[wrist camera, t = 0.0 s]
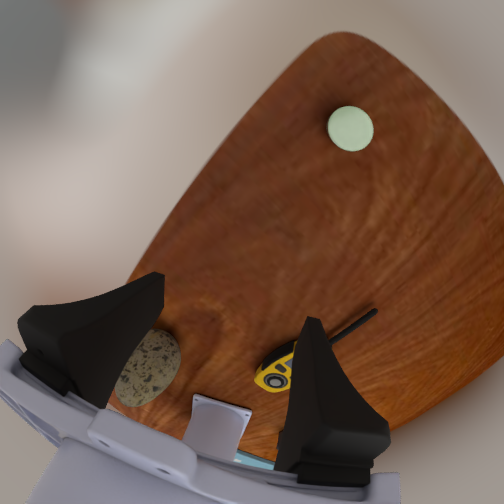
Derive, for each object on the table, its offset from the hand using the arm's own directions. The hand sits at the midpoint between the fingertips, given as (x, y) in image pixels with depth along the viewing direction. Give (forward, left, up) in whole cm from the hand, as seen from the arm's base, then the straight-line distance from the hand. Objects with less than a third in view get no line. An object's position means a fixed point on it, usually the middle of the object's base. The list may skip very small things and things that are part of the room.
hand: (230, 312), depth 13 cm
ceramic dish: (+10, -4, -10) cm, 14 cm away
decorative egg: (-15, +8, -10) cm, 20 cm away
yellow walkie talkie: (-10, -7, -10) cm, 16 cm away
